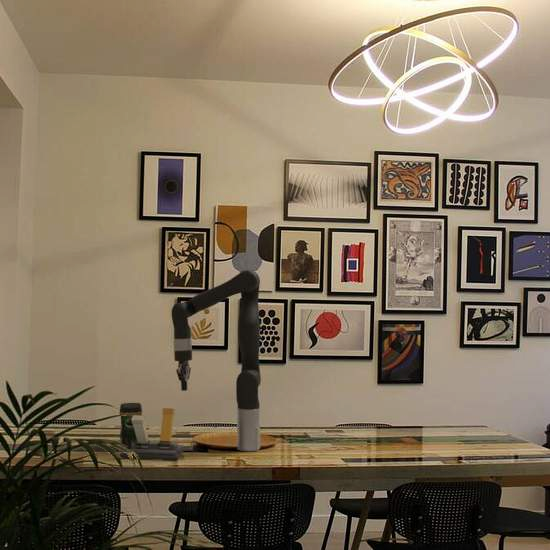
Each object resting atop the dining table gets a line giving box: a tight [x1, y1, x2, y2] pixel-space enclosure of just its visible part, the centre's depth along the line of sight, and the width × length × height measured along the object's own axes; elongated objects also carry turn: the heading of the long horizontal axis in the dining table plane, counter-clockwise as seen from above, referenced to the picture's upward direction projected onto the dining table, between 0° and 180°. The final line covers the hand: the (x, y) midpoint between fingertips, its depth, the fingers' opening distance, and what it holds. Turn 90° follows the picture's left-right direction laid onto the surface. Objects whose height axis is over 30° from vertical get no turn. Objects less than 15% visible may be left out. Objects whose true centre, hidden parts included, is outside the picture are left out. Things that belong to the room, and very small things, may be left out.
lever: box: [131, 415, 151, 446], centre depth 311 cm, size 4×3×15 cm
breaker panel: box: [129, 440, 185, 457], centre depth 314 cm, size 20×12×5 cm, turn 81°
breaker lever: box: [159, 407, 176, 447], centre depth 316 cm, size 4×3×15 cm, turn 81°
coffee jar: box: [118, 402, 143, 447], centre depth 329 cm, size 10×8×19 cm
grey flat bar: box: [119, 449, 180, 461], centre depth 306 cm, size 24×2×4 cm, turn 81°
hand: (184, 390), depth 328 cm, fingers closed
